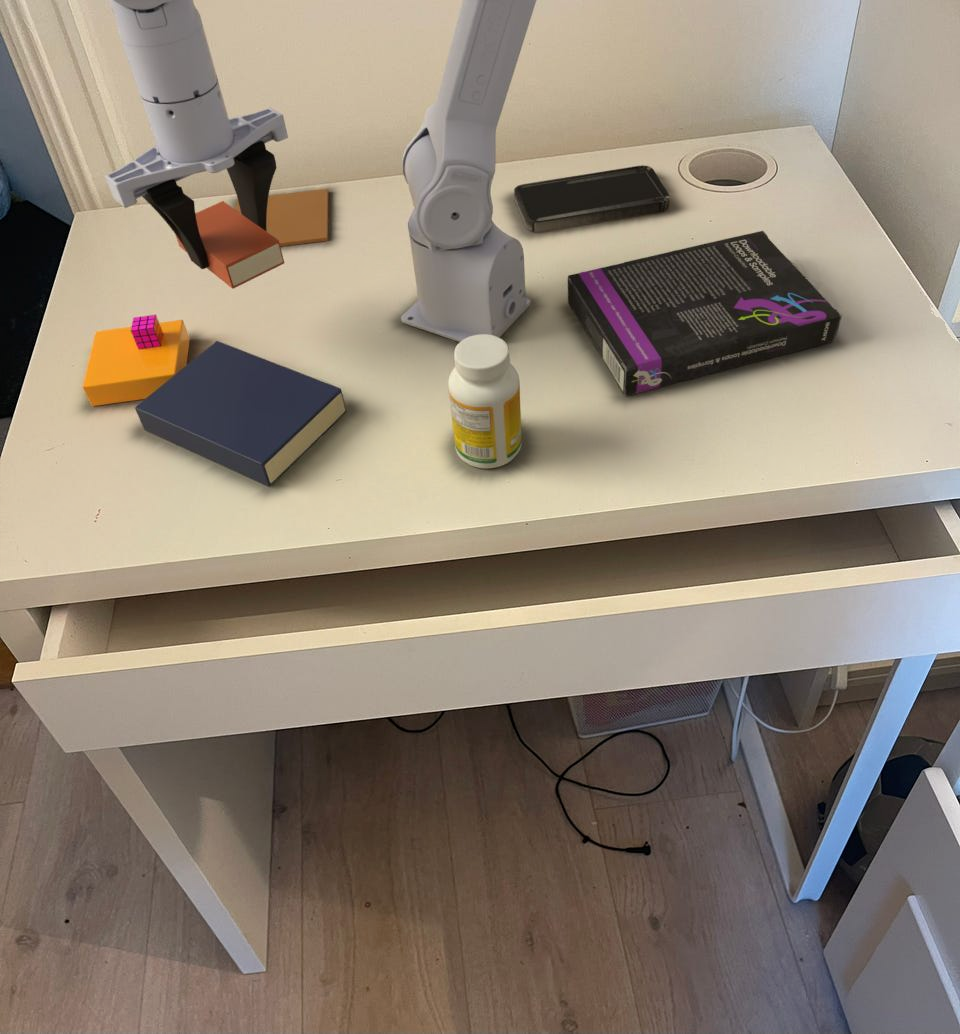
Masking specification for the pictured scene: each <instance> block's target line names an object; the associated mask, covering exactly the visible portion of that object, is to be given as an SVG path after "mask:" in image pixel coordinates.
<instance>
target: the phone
mask: <svg viewBox="0 0 960 1034" xmlns="http://www.w3.org/2000/svg"><path fill="white" fill-rule="evenodd" d="M513 194H514V202H515V205H516V208H517V210H518V213H519V215H520V217H521V220H522V222H523V225H524V228H525V229H526V230H527V231H528V232H532V233H541V232H546V231H552V230H553V231H554V230H558V229H565V228H569V227H570V228H573V227H577V226H584V225H591V224H595V223H603V222H609V221H614V220H621V219H627V218H632V217H639V216H645V215H650V214H657V213H663V212H666V211H667V210H669V208H670V200H671V196H670V194H669V192H668V191H667V189H666V187H665V186H664V184H663V182H662V181H661V179H660V178H659V176H658V174H657V173H656V172H655V170H654V168H653V167H651V166H649V165H644V164H643V165H642V164H641V165H636V166H635V165H634V166H629V167H623V168H622V167H621V168H617V169H616V168H615V169H609V170H603V171H597V172H591V173H585V174H578V175H572V176H565V177H559V178H553V179H547V180H541V181H535V182H534V181H533V182H528V183H522V184H518V185H516V186H515V187H514V189H513Z"/></svg>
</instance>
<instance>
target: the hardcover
mask: <svg viewBox="0 0 960 1034" xmlns="http://www.w3.org/2000/svg"><path fill="white" fill-rule="evenodd" d="M134 410H135V412H136V414H137V416H138V418H139V421H140V423H141V425H142V428H143V430H144V431H145V432H147V433H150V434H152V435H155V436H157V437H158V438H161V439H163V440H165V441H166V442H170V443H172V444H173V445H176V446H178V447H181V448H182V449H185V450H186V451H189V452H192V454H193V453H194V454H196V455H198V456H200V457H203V458H204V459H207V460H208V461H211V462H213V463H215V464H218V465H220V466H222V467H224V468H226V469H227V470H228V469H229V470H230V471H233V472H234V473H238V474H240V475H241V476H244V477H246V478H249V479H250V480H253V481H255V482H257V483H260V484H261V485H263V486H266V487H268V488H270V487H271V486H273V484H275V483H276V482H277V481H278V480H279V479H280V478H281V477H282V476H283V475H284V474H285V473H286V472H287V471H288V470H289V469H290V468H291V467H292V466H293V465H294V464H295V463H296V462H297V461H299V459H300V458H301V457H302V456H303V455H305V454H306V452H307V451H309V449H311V447H312V446H313V445H315V444H316V443H317V442H318V440H320V439H321V438H322V437H323V436H324V435H325V434H326V433H327V432H328V431H329V430H330V429H331V428H332V427H333V426H334V425H335V424H336V423H337V422H338V421H339V420H340V419H341V418H342V417H344V415H345V414H346V413H347V407H346V403H345V399H344V395H343V390H342V388H340V387H338V386H336V385H333V384H330V383H328V382H325V381H322V380H320V379H317V378H315V377H312V376H309V375H307V374H305V373H302V372H299V371H297V370H294V369H291V368H289V367H286V366H283V365H280V364H278V363H275V362H273V361H270V360H269V359H265V358H264V357H260V356H257V355H254V354H253V353H251V352H247V351H244V350H242V349H240V348H237V347H234V346H233V345H232V346H231V345H230V344H226V343H224V342H221V341H219V340H215V341H214V342H213V343H212V344H211V345H210V346H209V347H207V348H206V349H205V350H204V351H202V352H201V353H199V354H198V355H197V356H196V357H195V358H194V359H193V360H191V361H190V362H189V363H187V365H186V366H185V367H184V368H183V369H181V370H180V371H179V372H178V373H177V374H175V375H174V376H173V377H172V378H170V379H169V380H168V381H167V382H165V383H164V384H163V385H162V386H161V387H159V388H158V389H157V390H156V391H154V392H153V393H152V394H151V395H149V396H148V397H147V398H146V399H142V401H141V402H140V403H138V404H137V405H136V406H135V407H134Z"/></svg>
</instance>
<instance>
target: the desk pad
mask: <svg viewBox="0 0 960 1034" xmlns="http://www.w3.org/2000/svg"><path fill="white" fill-rule="evenodd" d="M235 210H237V211H238V212H239V213H241V210H240V206H239V202H238V199H237V200H236V207H235ZM241 214H242V213H241ZM266 227H267V232H268V233H269V234H271V235H272V236H273V237H275V238H276V239H278V240H279V243H280V247H285V246H287V247H288V246H294V245H302V244H312V243H319V242H327V241H329V189H328V188H322V189H314V190H306V191H297V192H288V193H281V194H271V195H269V196H268V203H267V221H266Z"/></svg>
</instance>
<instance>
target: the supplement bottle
mask: <svg viewBox="0 0 960 1034" xmlns="http://www.w3.org/2000/svg"><path fill="white" fill-rule="evenodd" d="M509 350H510V349H509V346H508V344H507V343H506V341H505V340H504V339H503V338H501V337H496V336H494V335H488V334H480V335H473V336H470V337H467V338H465V339H464V340H462V341H461V342H458V344H456V346H455V348H454V352H453V358H454V368H453V369H452V370H451V372H450V374H449V377H448V382H447V388H448V397H449V406H450V414H451V422H452V432H453V441H454V448H455V452H456V453H457V455H458V457H459V458H460V459H461V460H462V461H463V462H464V463H465V464H467V465H470V466H471V467H474V468H478V469H494V468H500V467H502V466H505V465H506V464H508V463H510V462H512V461H513V460H514V459H515V458H516V456H517V455H518V454H519V452H520V450H521V448H522V443H523V434H522V433H523V432H522V414H521V413H522V411H521V387H520V386H521V385H520V376H519V372H518V371H517V369H516V367H515V366H514V365H513V364H512V363H511V358H510V351H509Z"/></svg>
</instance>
